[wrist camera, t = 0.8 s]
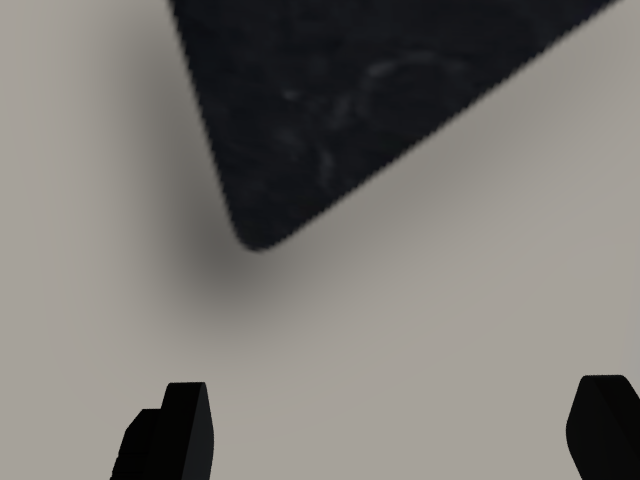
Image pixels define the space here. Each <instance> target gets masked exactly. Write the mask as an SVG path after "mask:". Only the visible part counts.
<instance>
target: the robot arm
mask: <svg viewBox="0 0 640 480" xmlns="http://www.w3.org/2000/svg"><path fill="white" fill-rule="evenodd" d="M566 439H567V444H568V448H569V451H570V454H571V456H572V458H573V460H574V463H575V465H576V467H577V469H578V471H579V474H580V476H581V478H582V480H640V399H639V397H638V395H637V394H636V392H635V390H634V389H633V387H632V386H631V384H630V383H629V381H628V380H627V379H626V378H625V377H624V376H622V375H591V376H590V375H589V376H588V375H586V376H583V377H582V379H581V381H580V383H579V386H578V389H577V392H576V395H575V398H574V401H573V405H572V408H571V411H570V414H569V417H568V420H567V424H566ZM213 450H214V431H213V425H212V418H211V412H210V406H209V400H208V394H207V388H206V384H205V382H187V383H169V384H168V386H167V388H166V391H165V395H164V399H163V402H162V406H161V409H142V411H141V412H140V413H139V414H138V415H137V417H136V418H135V419H134V420H133V422H132V423H131V424H130V425H129V427H128V428H127V429H126V431H125V434H124V437H123V440H122V444H121V446H120V450H119V453H118V458H117V459H116V462H115V465H114V468H113V471H112V477H110V480H209V479H210V472H211V466H212V460H213Z"/></svg>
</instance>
